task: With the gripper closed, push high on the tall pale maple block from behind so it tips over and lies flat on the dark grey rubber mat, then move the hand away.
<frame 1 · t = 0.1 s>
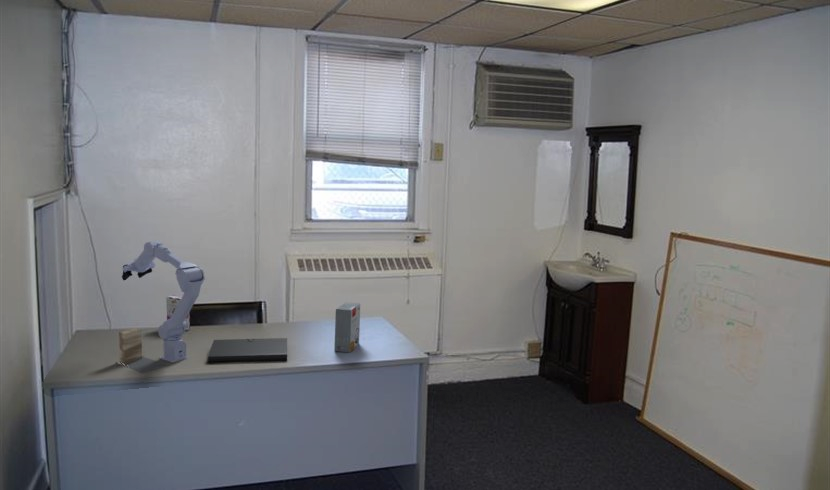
hand: (131, 277, 293), 32 cm above the table, tool tilted 50°, fingers open, 7 cm apart
maple block: (131, 360, 277), resting on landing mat
hard drive box: (347, 347, 306), on the table
candy bar box: (178, 329, 327), on the table
closed laptop: (249, 355, 293), on the table
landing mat: (141, 364, 274), on the table
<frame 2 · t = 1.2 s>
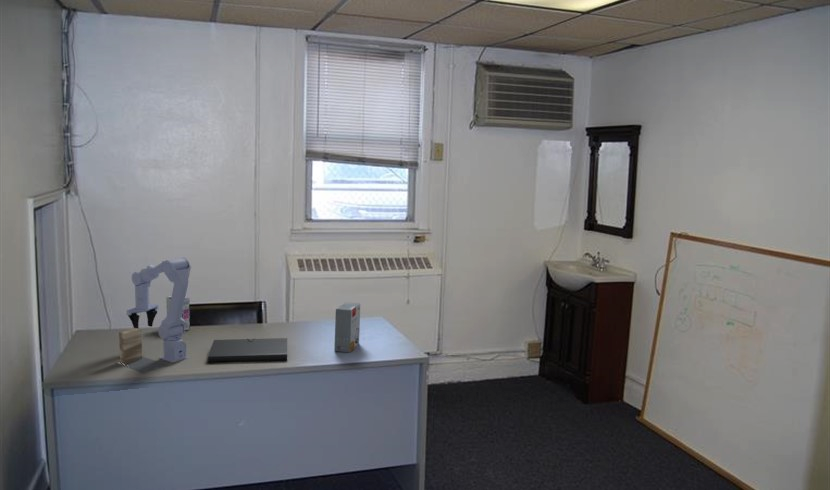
hand: (143, 327, 292), 10 cm above the table, tool pointing down, fingers open, 6 cm apart
nothing on the table moved.
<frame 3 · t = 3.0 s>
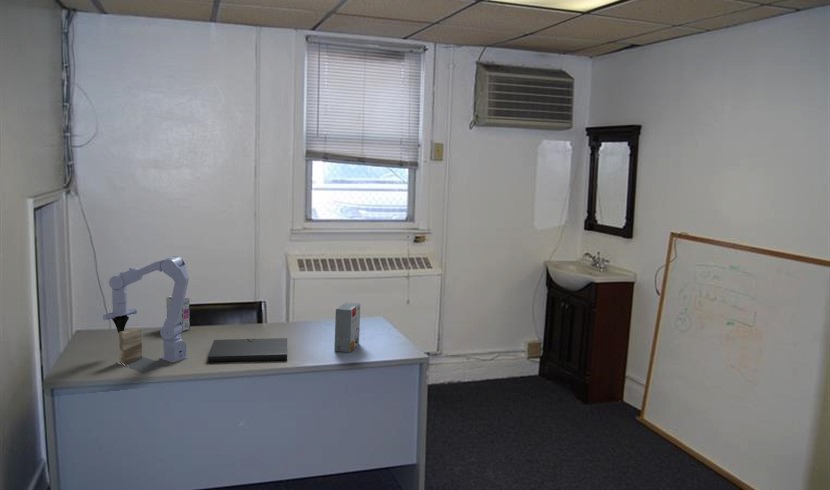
hand: (120, 332, 283), 10 cm above the table, tool pointing down, fingers closed
nothing on the table moved.
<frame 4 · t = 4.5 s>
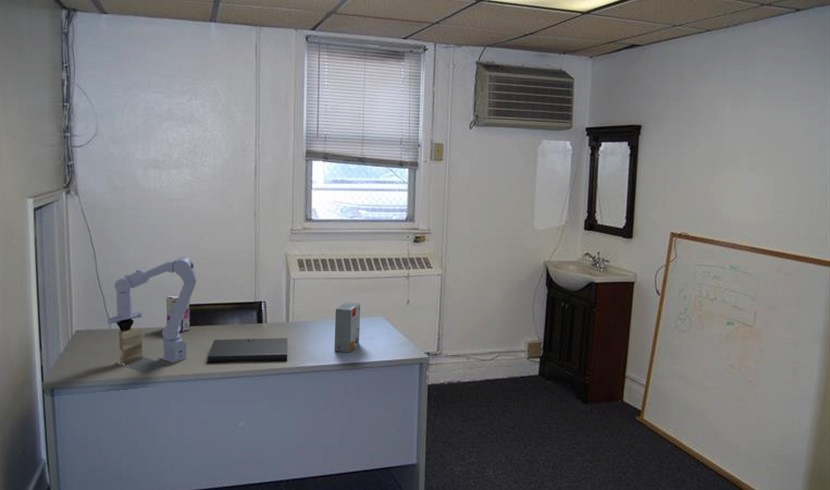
hand: (125, 336, 278), 10 cm above the table, tool pointing down, fingers closed, pressing on maple block
maple block: (131, 360, 277), resting on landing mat, touching gripper
everything else where it was.
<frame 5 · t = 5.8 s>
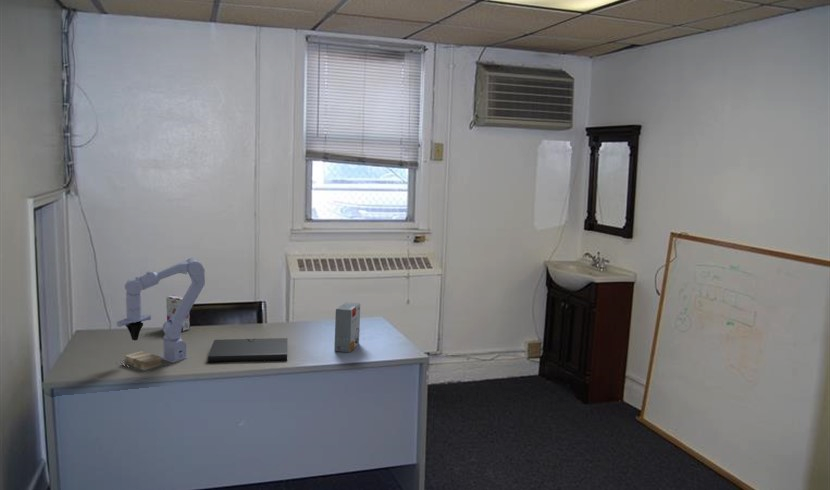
hand: (134, 339, 274), 10 cm above the table, tool pointing down, fingers closed
maple block: (133, 357, 276), point 2 cm above the table, tilted 90°, touching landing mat
everything else where it was.
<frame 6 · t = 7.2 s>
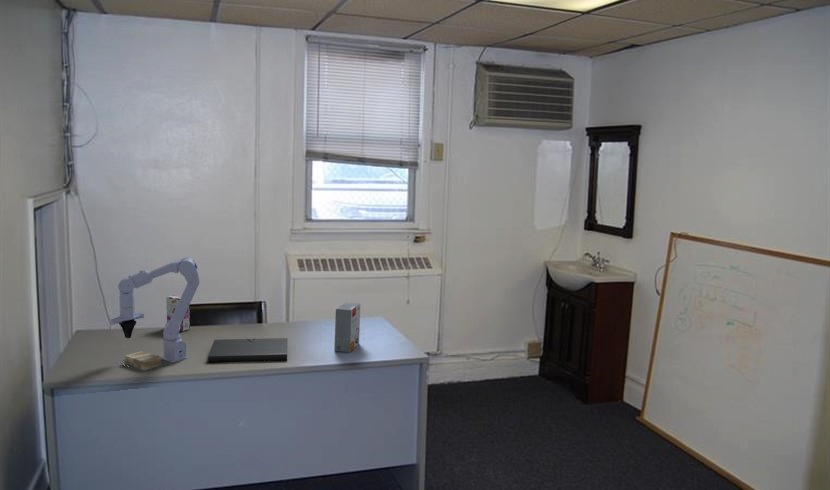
hand: (128, 337, 277), 10 cm above the table, tool pointing down, fingers closed
nothing on the table moved.
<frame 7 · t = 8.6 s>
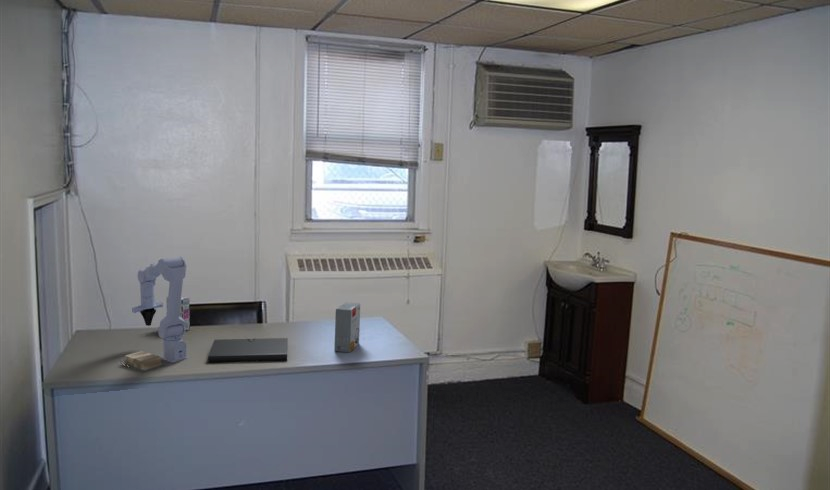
hand: (148, 325, 296), 10 cm above the table, tool pointing down, fingers closed
nothing on the table moved.
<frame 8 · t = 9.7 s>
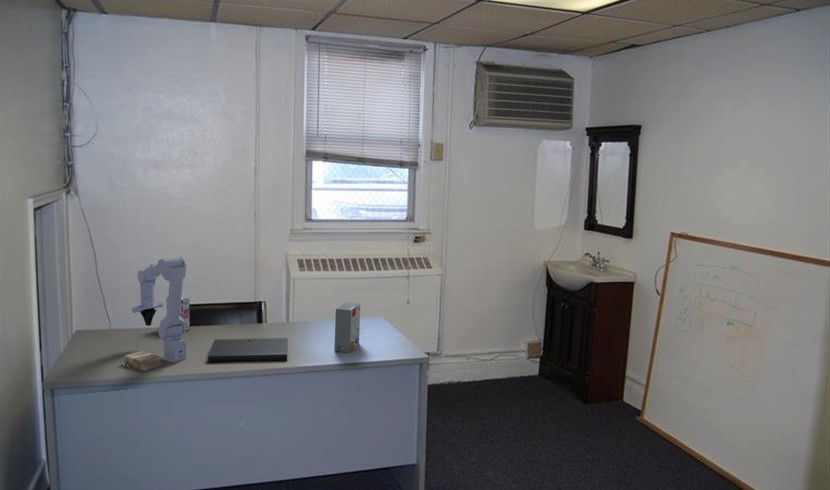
hand: (148, 325, 296), 10 cm above the table, tool pointing down, fingers closed
nothing on the table moved.
at the end: maple block tilted 90°; maple block inside the target area (4.1 cm from its centre), point 2.0 cm above the table; maple block touching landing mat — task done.
